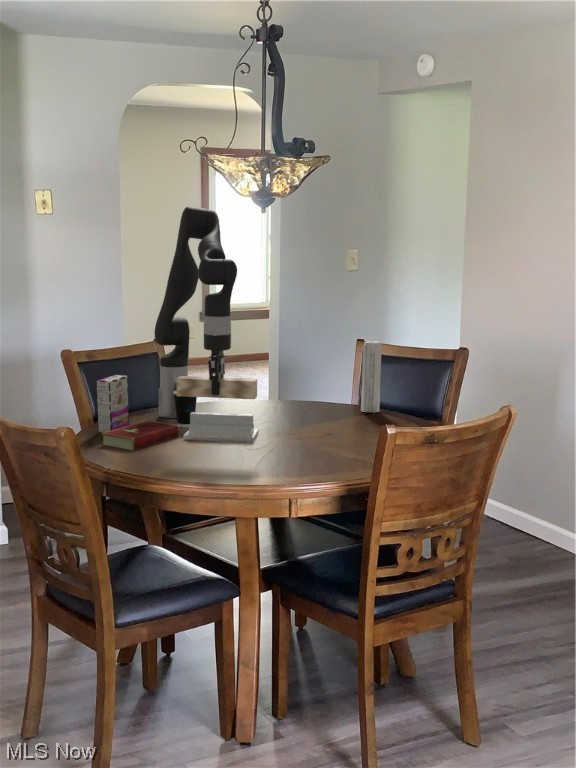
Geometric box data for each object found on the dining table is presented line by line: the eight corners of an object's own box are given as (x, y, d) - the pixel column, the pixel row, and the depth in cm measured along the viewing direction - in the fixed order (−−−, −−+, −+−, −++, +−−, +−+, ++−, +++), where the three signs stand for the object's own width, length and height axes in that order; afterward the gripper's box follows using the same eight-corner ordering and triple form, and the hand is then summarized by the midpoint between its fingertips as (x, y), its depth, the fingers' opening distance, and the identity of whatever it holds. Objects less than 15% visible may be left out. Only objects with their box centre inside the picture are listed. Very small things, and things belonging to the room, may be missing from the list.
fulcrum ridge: (183, 439, 251) (183, 416, 250) (191, 430, 263) (191, 408, 262) (253, 442, 249) (253, 419, 248) (258, 433, 261) (258, 411, 260)
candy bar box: (115, 425, 269) (114, 374, 267) (129, 426, 268) (128, 375, 265) (97, 432, 259) (95, 379, 256) (111, 433, 257) (110, 381, 255)
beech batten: (176, 396, 234) (176, 378, 233) (180, 393, 238) (180, 376, 237) (255, 399, 232) (255, 381, 231) (257, 396, 236) (257, 379, 235)
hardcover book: (179, 437, 256) (179, 424, 255) (133, 452, 238) (133, 437, 237) (148, 432, 262) (148, 419, 261) (101, 446, 244) (101, 432, 243)
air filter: (382, 411, 297) (384, 341, 293) (374, 414, 292) (376, 343, 288) (365, 409, 301) (368, 340, 296) (357, 412, 295) (359, 341, 291)
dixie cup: (192, 429, 265) (192, 394, 264) (169, 427, 268) (168, 393, 266) (201, 424, 273) (201, 390, 271) (179, 422, 275) (179, 389, 273)
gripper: (208, 328, 239) (208, 388, 242) (198, 334, 225) (198, 397, 228) (235, 329, 238) (234, 389, 241) (226, 335, 224) (226, 398, 227)
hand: (217, 392), depth 235 cm, fingers closed on beech batten, 4 cm apart
